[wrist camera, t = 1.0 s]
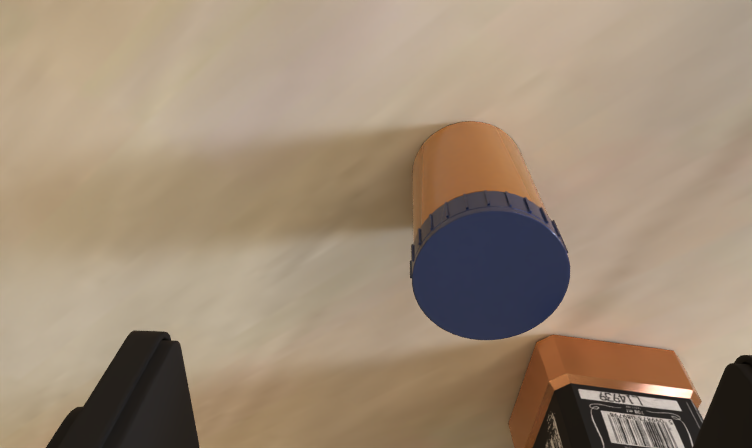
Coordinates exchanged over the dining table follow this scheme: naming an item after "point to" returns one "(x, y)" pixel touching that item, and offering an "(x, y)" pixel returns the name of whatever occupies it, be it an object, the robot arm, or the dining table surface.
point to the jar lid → (489, 266)
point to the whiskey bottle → (604, 397)
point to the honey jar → (467, 168)
